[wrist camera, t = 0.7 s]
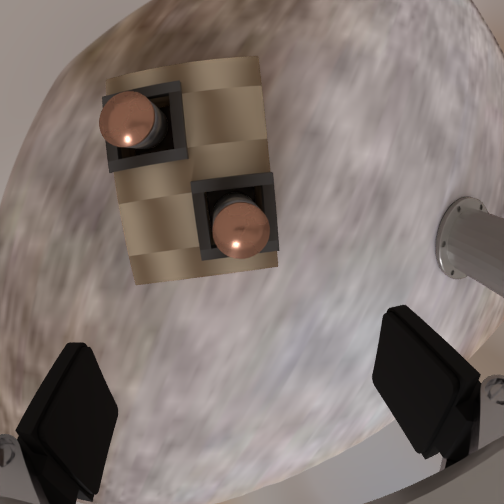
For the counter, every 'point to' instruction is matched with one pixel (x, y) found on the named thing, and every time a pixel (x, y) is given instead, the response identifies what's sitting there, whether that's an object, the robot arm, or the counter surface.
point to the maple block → (193, 168)
